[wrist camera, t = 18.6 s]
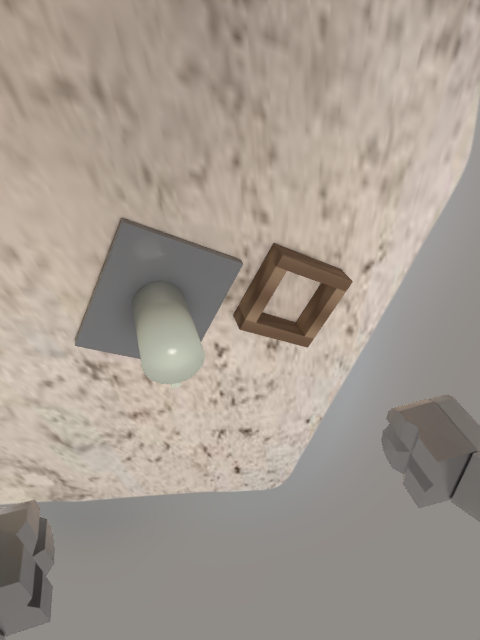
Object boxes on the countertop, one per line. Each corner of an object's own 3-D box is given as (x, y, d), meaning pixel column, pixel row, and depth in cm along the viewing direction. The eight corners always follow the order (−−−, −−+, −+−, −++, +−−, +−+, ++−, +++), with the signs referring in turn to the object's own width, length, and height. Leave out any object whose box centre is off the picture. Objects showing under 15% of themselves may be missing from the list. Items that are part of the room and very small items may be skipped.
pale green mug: (127, 286, 47) (137, 342, 39) (182, 277, 48) (202, 329, 41) (139, 346, 52) (150, 407, 44) (189, 337, 54) (208, 394, 46)
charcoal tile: (121, 217, 44) (122, 221, 43) (240, 259, 50) (243, 263, 50) (75, 340, 51) (74, 345, 50) (185, 363, 57) (186, 368, 56)
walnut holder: (273, 243, 50) (282, 255, 48) (341, 269, 55) (352, 281, 53) (233, 315, 55) (239, 329, 52) (299, 333, 60) (307, 347, 57)
